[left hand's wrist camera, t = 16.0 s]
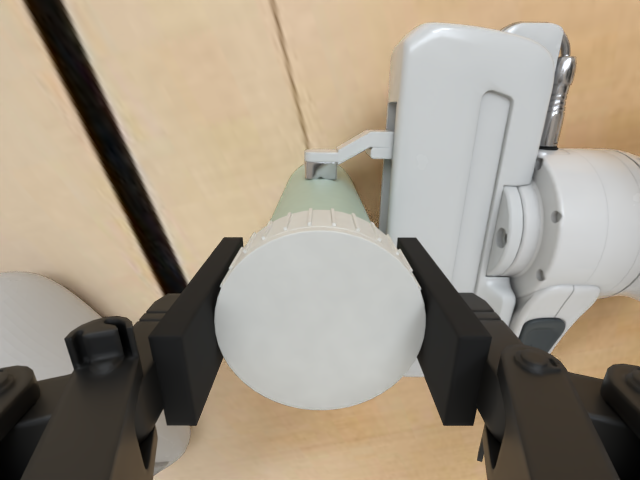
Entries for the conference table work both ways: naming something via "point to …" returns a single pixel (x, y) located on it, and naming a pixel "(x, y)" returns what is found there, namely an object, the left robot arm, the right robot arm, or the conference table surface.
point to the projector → (58, 341)
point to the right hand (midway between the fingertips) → (305, 221)
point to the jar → (320, 195)
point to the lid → (320, 311)
